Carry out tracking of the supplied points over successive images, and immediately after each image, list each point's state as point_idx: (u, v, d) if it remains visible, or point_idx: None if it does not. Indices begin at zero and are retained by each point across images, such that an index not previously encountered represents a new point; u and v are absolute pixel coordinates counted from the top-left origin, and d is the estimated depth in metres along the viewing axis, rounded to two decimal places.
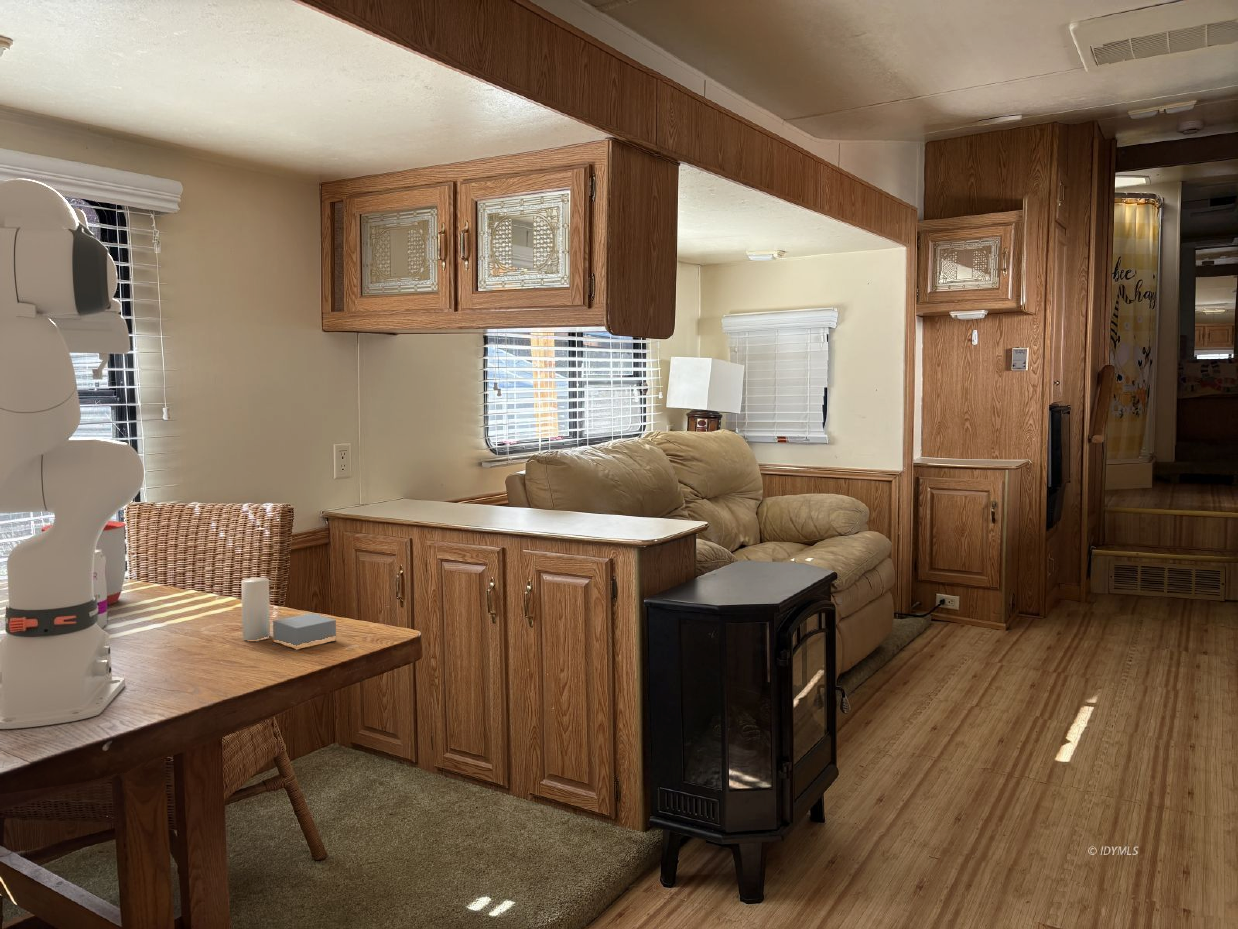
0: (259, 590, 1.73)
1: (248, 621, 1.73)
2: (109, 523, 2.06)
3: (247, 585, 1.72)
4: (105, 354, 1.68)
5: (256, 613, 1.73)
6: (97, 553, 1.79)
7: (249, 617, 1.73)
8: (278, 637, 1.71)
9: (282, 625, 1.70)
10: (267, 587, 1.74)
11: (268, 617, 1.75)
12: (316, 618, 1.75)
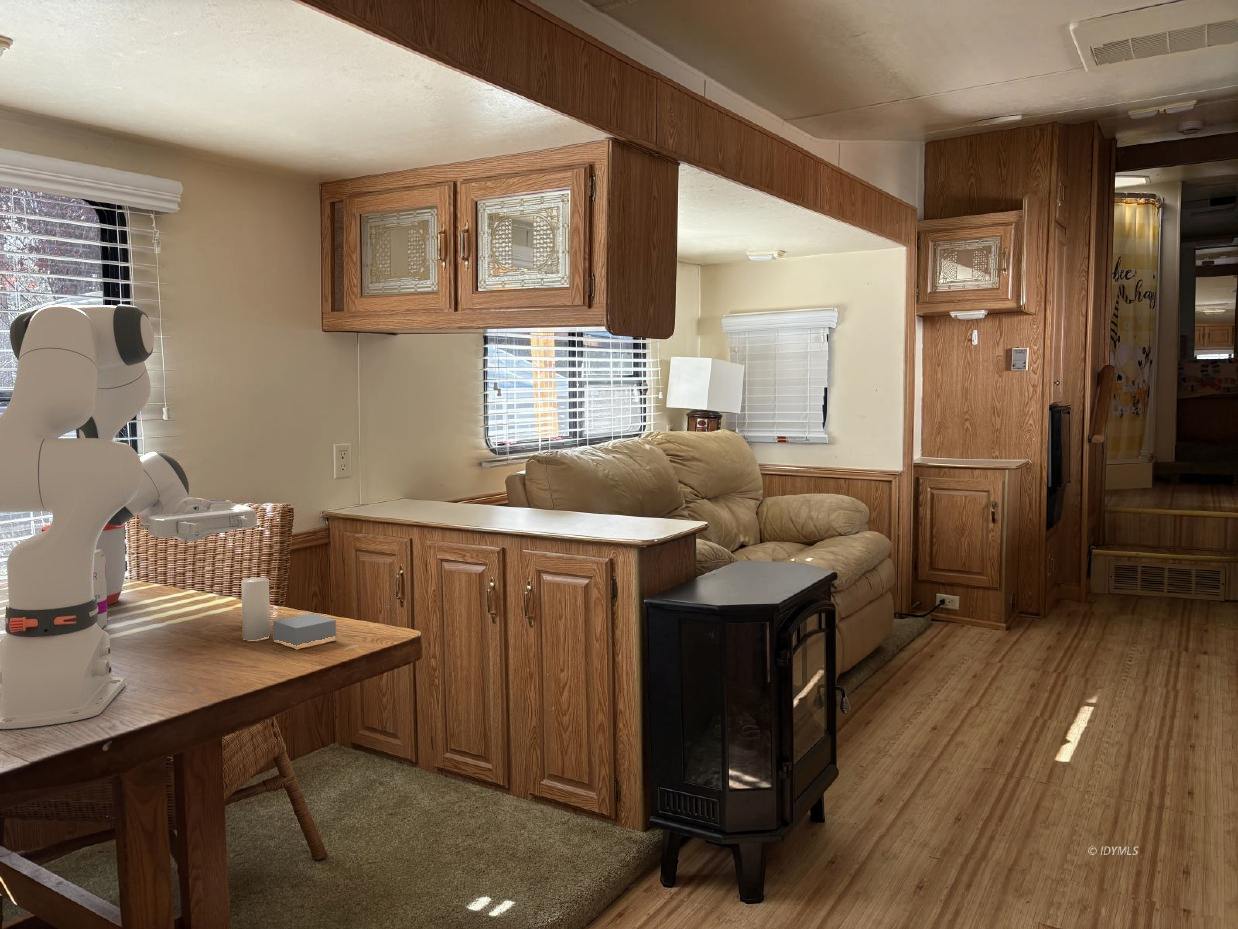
0: (259, 590, 1.73)
1: (248, 621, 1.73)
2: None
3: (247, 585, 1.72)
4: (240, 515, 1.89)
5: (256, 613, 1.73)
6: (97, 553, 1.79)
7: (249, 617, 1.73)
8: (278, 637, 1.71)
9: (282, 625, 1.70)
10: (267, 587, 1.74)
11: (268, 617, 1.75)
12: (316, 618, 1.75)
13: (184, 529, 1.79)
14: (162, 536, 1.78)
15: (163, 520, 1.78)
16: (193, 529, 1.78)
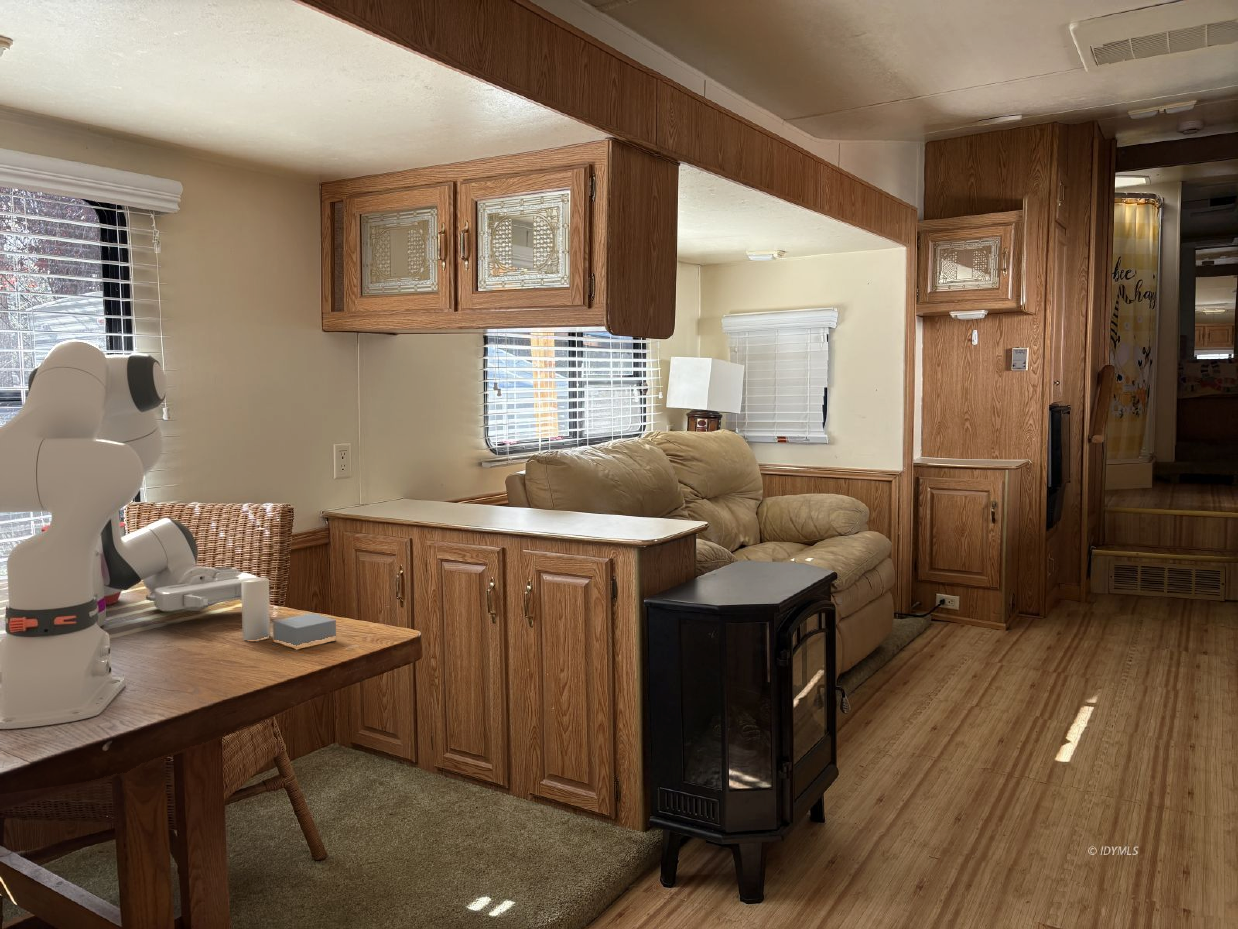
0: (259, 590, 1.73)
1: (248, 621, 1.73)
2: None
3: (247, 585, 1.72)
4: None
5: (256, 613, 1.73)
6: None
7: (249, 617, 1.73)
8: (278, 637, 1.71)
9: (282, 625, 1.70)
10: (267, 587, 1.74)
11: (268, 617, 1.75)
12: (316, 618, 1.75)
13: (190, 602, 1.79)
14: (168, 610, 1.78)
15: (169, 594, 1.78)
16: (199, 603, 1.78)
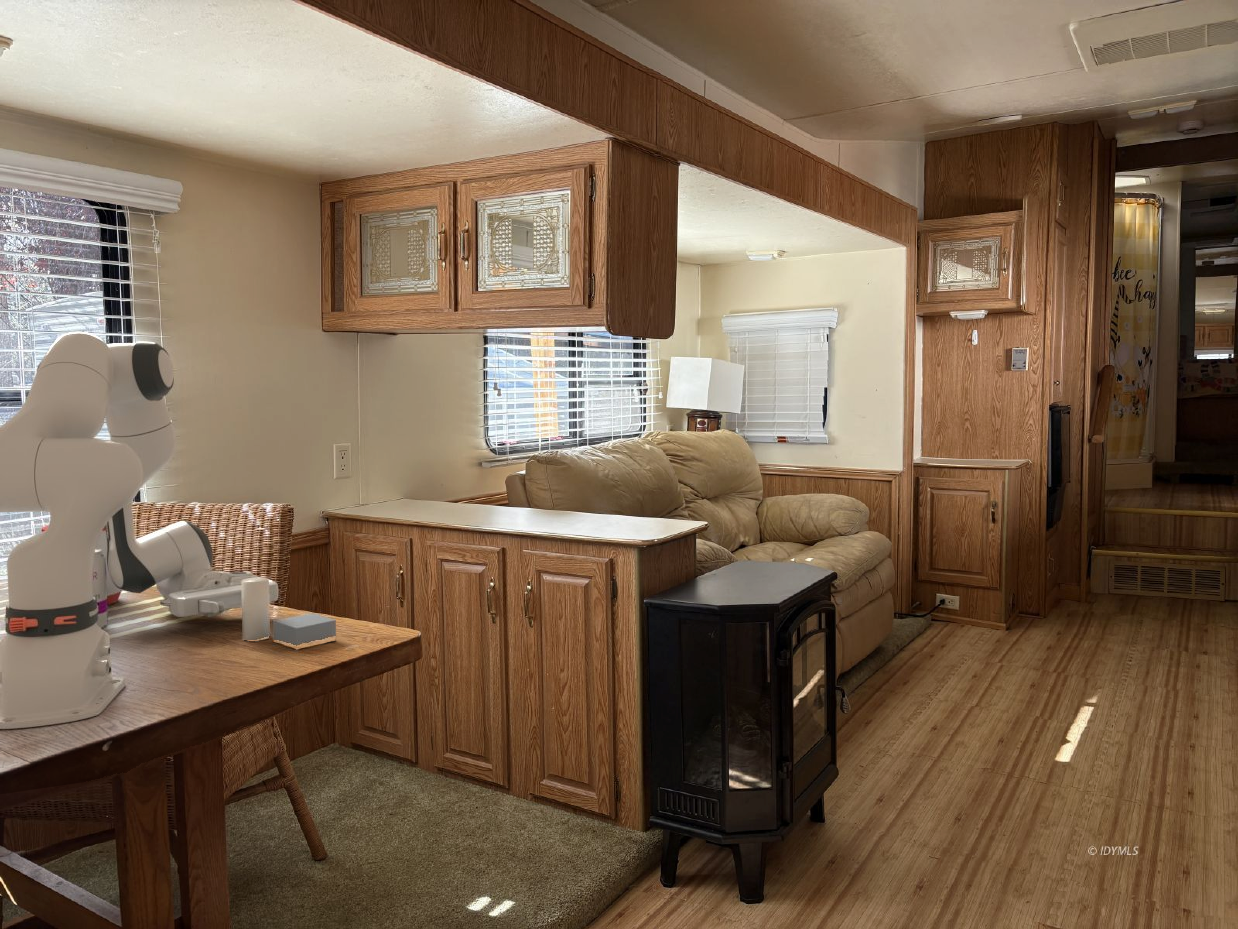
0: (259, 590, 1.73)
1: (248, 621, 1.73)
2: None
3: (247, 585, 1.72)
4: None
5: (256, 613, 1.73)
6: (97, 553, 1.79)
7: (249, 617, 1.73)
8: (278, 637, 1.71)
9: (282, 625, 1.70)
10: (267, 587, 1.74)
11: (268, 617, 1.75)
12: (316, 618, 1.75)
13: (206, 608, 1.75)
14: (183, 615, 1.74)
15: (184, 599, 1.73)
16: (215, 608, 1.73)
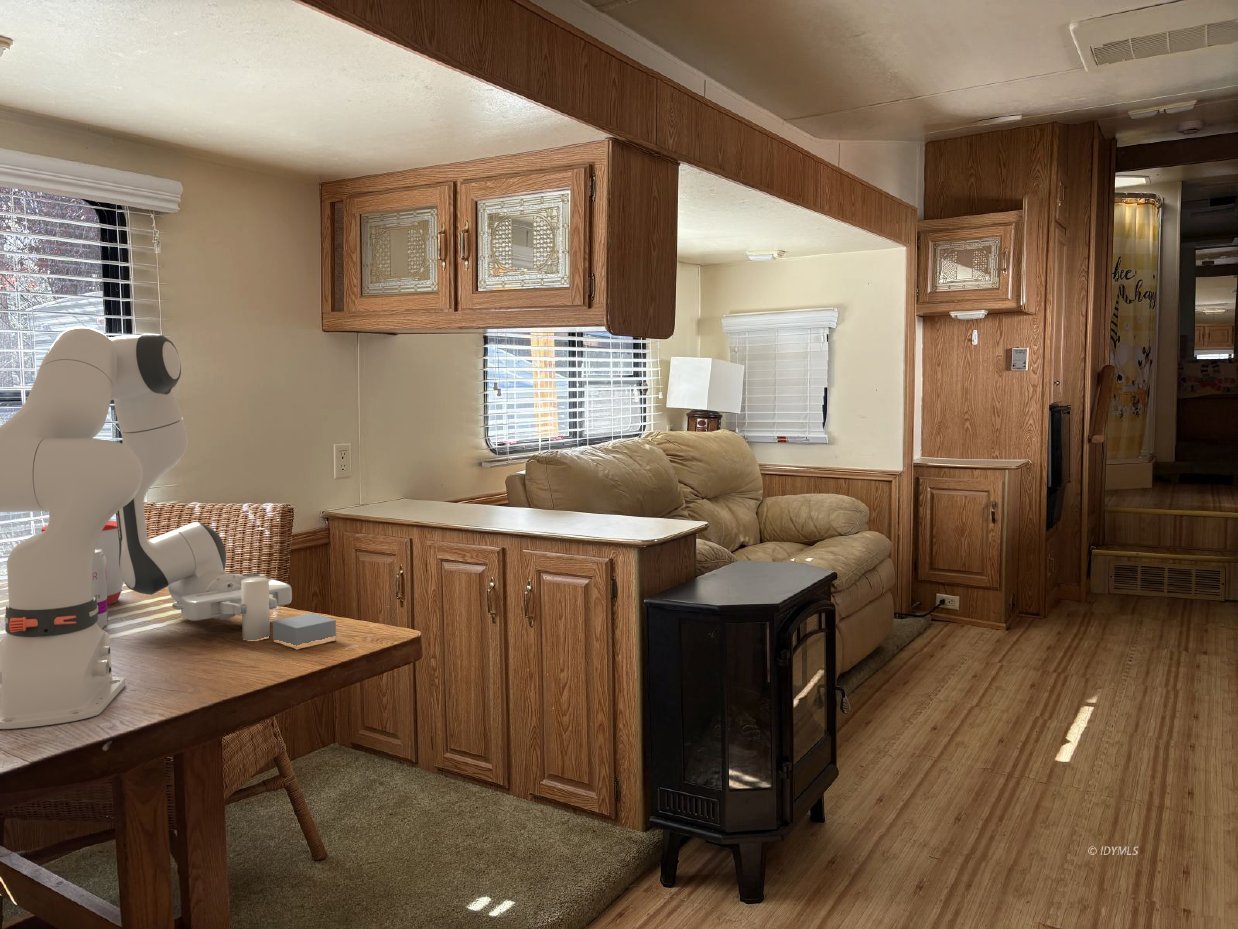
0: (259, 590, 1.73)
1: (248, 621, 1.73)
2: (109, 523, 2.06)
3: (247, 585, 1.72)
4: None
5: (255, 613, 1.73)
6: (97, 553, 1.79)
7: (249, 617, 1.73)
8: (278, 637, 1.71)
9: (282, 625, 1.70)
10: (267, 587, 1.74)
11: (268, 617, 1.75)
12: (316, 618, 1.75)
13: (227, 610, 1.73)
14: (196, 619, 1.71)
15: (197, 602, 1.70)
16: (237, 610, 1.72)
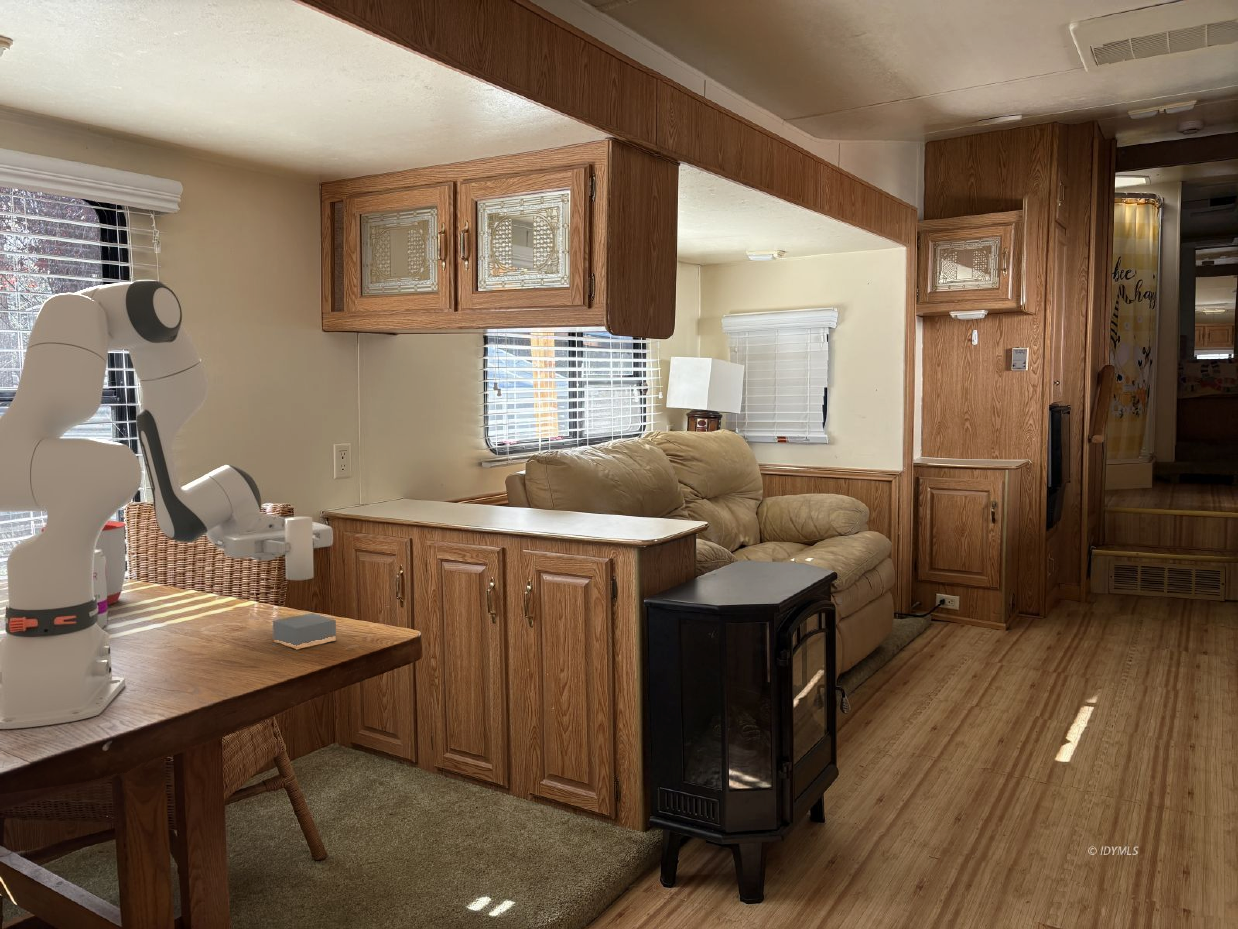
0: (303, 527, 1.70)
1: (292, 559, 1.70)
2: (109, 523, 2.06)
3: (291, 522, 1.69)
4: None
5: (300, 552, 1.70)
6: (97, 553, 1.79)
7: (293, 555, 1.70)
8: (278, 637, 1.71)
9: (282, 625, 1.70)
10: (311, 525, 1.72)
11: (312, 556, 1.72)
12: (316, 618, 1.75)
13: (271, 548, 1.70)
14: (240, 557, 1.68)
15: (241, 540, 1.68)
16: (281, 548, 1.69)
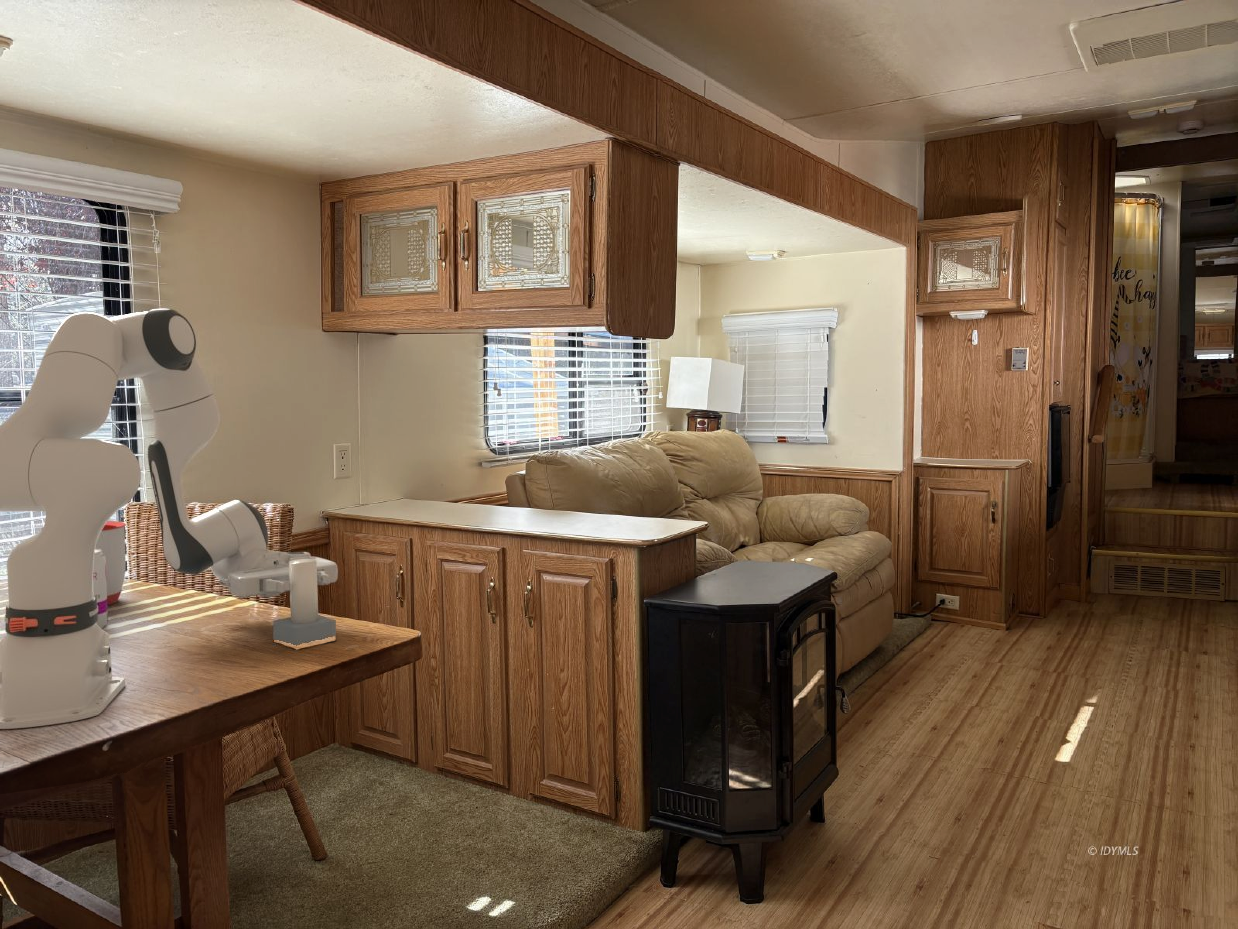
0: (307, 571, 1.70)
1: (296, 603, 1.70)
2: (109, 523, 2.06)
3: (296, 566, 1.70)
4: (320, 570, 1.79)
5: (304, 595, 1.70)
6: (97, 553, 1.79)
7: (298, 598, 1.70)
8: (278, 637, 1.71)
9: (282, 625, 1.70)
10: (315, 568, 1.72)
11: (316, 599, 1.73)
12: None
13: (271, 587, 1.69)
14: (245, 595, 1.68)
15: (246, 578, 1.68)
16: (281, 587, 1.68)
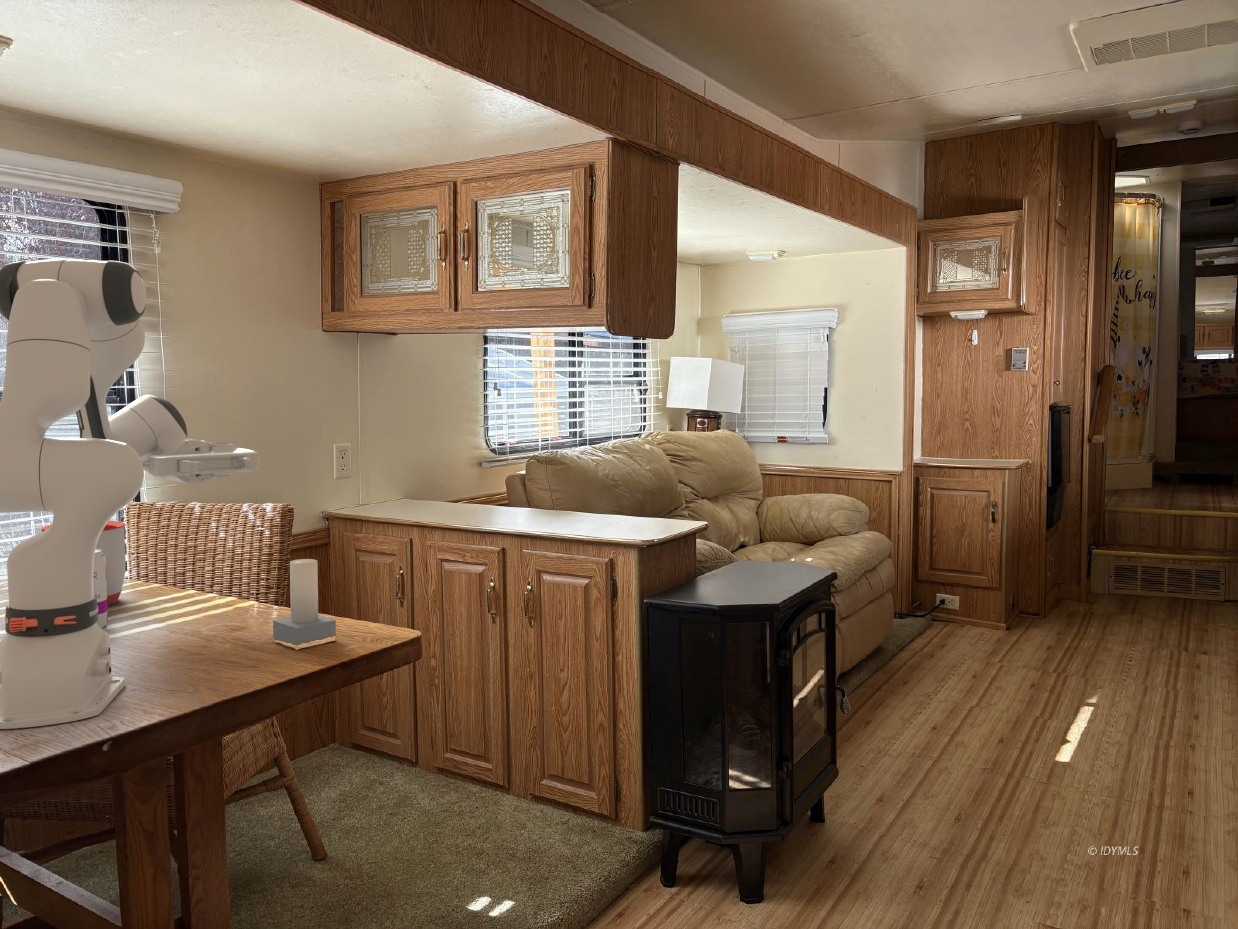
0: (308, 571, 1.70)
1: (296, 603, 1.70)
2: (109, 523, 2.06)
3: (296, 566, 1.70)
4: (243, 457, 1.85)
5: (304, 595, 1.70)
6: (97, 553, 1.79)
7: (298, 598, 1.70)
8: (278, 637, 1.71)
9: (282, 625, 1.70)
10: (316, 568, 1.72)
11: (316, 599, 1.73)
12: None
13: (185, 467, 1.75)
14: (163, 474, 1.74)
15: (164, 458, 1.73)
16: (194, 467, 1.73)
